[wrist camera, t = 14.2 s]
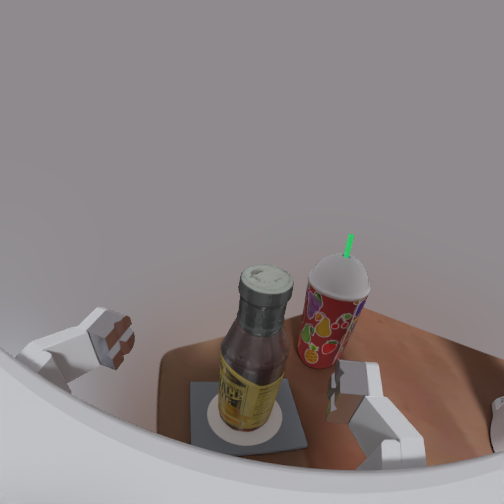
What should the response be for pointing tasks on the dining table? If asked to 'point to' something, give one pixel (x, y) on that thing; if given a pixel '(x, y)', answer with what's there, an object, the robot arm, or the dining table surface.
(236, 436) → the card
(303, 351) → the smoothie
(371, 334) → the dining table surface
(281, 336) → the sauce bottle
